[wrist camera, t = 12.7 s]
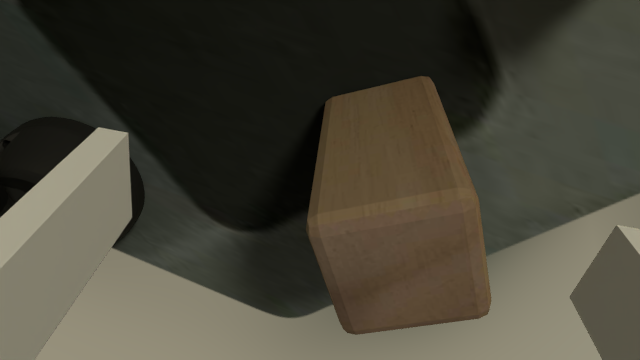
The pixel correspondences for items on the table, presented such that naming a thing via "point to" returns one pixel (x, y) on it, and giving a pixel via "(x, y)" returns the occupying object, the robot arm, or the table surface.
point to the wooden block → (396, 212)
